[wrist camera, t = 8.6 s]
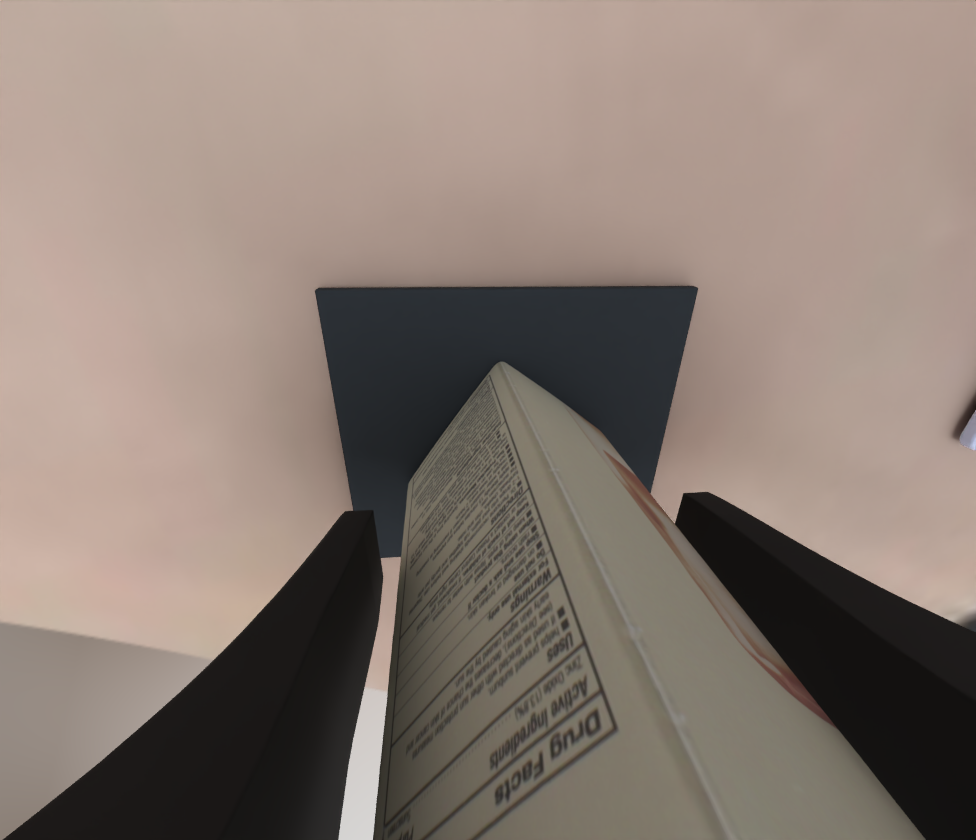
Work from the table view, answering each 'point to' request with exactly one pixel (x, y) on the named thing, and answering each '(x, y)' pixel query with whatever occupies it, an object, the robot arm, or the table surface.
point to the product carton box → (588, 660)
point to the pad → (475, 351)
